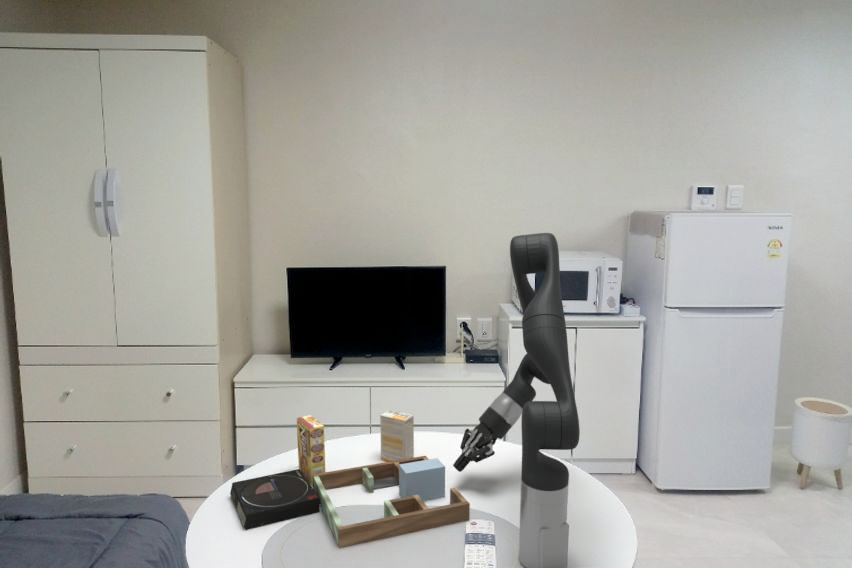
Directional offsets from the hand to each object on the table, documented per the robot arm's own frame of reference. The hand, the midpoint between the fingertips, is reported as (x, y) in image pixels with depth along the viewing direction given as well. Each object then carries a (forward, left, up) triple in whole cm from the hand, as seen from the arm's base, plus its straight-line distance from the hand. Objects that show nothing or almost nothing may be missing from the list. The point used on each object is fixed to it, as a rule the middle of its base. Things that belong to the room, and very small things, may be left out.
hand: (456, 469), depth 154 cm
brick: (0, +9, -5) cm, 11 cm away
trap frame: (-1, +18, -5) cm, 19 cm away
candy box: (+19, +32, -5) cm, 38 cm away
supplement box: (+21, +8, -5) cm, 23 cm away
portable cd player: (+9, +43, -6) cm, 45 cm away
